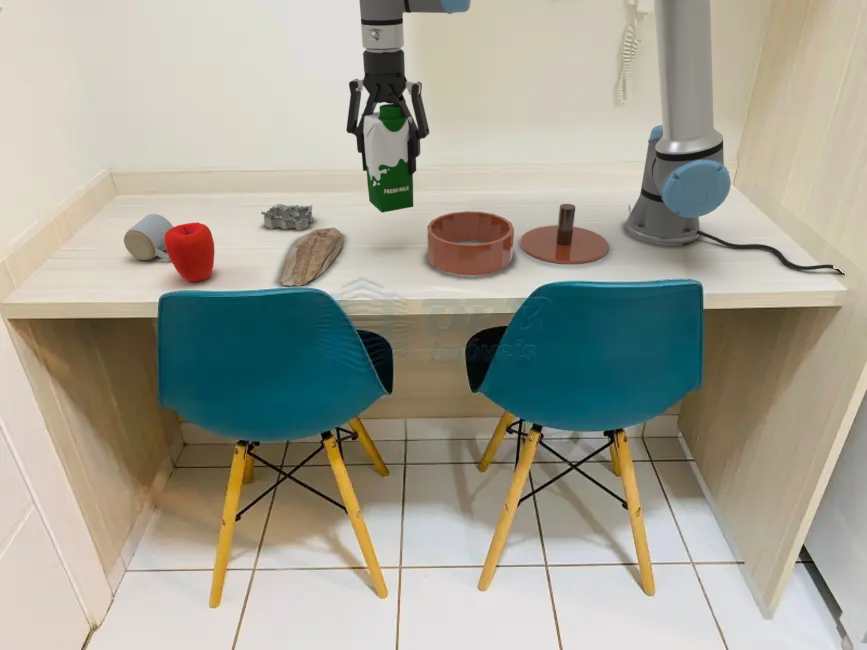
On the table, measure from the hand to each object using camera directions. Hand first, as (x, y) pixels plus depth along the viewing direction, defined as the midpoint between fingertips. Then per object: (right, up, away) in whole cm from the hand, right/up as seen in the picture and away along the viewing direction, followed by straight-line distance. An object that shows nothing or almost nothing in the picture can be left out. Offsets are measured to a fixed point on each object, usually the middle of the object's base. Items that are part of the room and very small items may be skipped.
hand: (389, 170), depth 126 cm
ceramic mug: (-49, -16, +8) cm, 52 cm away
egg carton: (-25, -7, +21) cm, 33 cm away
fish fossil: (-17, -17, +5) cm, 24 cm away
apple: (-38, -22, -1) cm, 44 cm away
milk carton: (0, -6, +4) cm, 7 cm away
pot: (+16, -17, +4) cm, 24 cm away
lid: (+36, -14, +7) cm, 40 cm away
